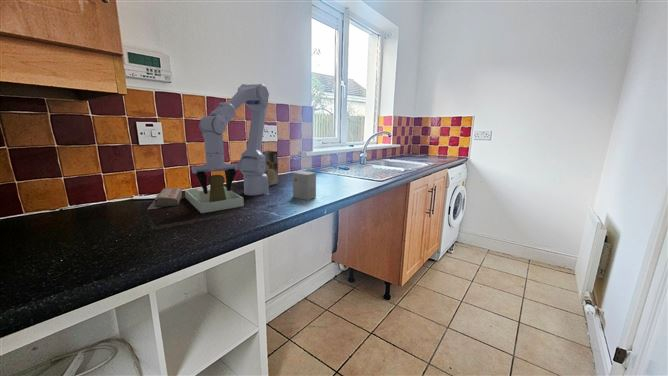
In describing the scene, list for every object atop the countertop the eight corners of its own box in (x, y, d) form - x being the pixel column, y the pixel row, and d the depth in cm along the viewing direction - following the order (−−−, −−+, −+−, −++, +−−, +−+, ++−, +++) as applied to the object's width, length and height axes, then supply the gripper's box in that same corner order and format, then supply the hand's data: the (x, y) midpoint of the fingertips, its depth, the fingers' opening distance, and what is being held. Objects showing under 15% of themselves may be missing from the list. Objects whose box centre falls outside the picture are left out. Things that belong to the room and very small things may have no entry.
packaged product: (157, 187, 107) (186, 185, 110) (158, 199, 108) (187, 197, 112) (145, 199, 91) (180, 197, 94) (147, 213, 92) (181, 211, 95)
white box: (217, 195, 110) (217, 185, 109) (222, 198, 106) (222, 188, 105) (196, 198, 105) (195, 188, 104) (200, 202, 101) (199, 191, 100)
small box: (316, 197, 115) (316, 172, 113) (307, 200, 111) (308, 174, 108) (301, 194, 119) (301, 170, 117) (292, 197, 115) (292, 172, 112)
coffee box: (269, 181, 142) (268, 150, 138) (278, 183, 139) (278, 151, 135) (255, 185, 134) (254, 151, 130) (265, 186, 131) (264, 152, 127)
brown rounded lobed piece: (218, 209, 93) (215, 177, 90) (204, 207, 95) (202, 175, 93) (231, 205, 98) (229, 174, 96) (218, 202, 101) (216, 172, 98)
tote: (223, 195, 115) (222, 185, 114) (243, 208, 98) (243, 197, 97) (185, 200, 106) (184, 190, 105) (201, 216, 90) (200, 204, 89)
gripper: (194, 155, 86) (197, 197, 89) (240, 152, 95) (242, 191, 98) (188, 152, 91) (192, 192, 94) (233, 150, 100) (235, 187, 103)
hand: (217, 191), depth 97 cm, fingers open, 7 cm apart
